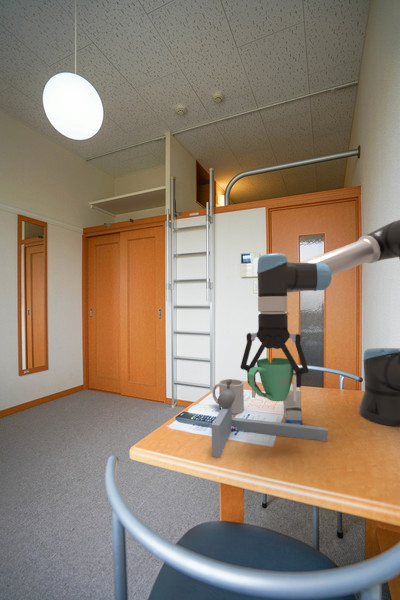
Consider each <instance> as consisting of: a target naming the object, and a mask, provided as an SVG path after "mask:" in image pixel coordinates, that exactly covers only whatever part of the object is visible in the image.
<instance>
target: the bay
mask: <svg viewBox="0 0 400 600" xmlns="http://www.w3.org/2000/svg"><path fill="white" fill-rule="evenodd" d="M227 379H228V380H227V389H225V390H223V391H222V393H221V394H220V396H218V397H217V399H218V403H217V404H218V406H219V408H220V407H222V409H221V410H220V409H219V411H218V414H217V416H216V417H215V419H213V420H214V421H213V422H212V424H211V453H212V454H211V456H212V457H214V458H221V457H222V454H223V451H224V449H225V446H226V444H227V442H228V439H229V437H230V434H231V433H232V430H231V426H236V427H237V430H236V431H238V432H246V433H255V434H264V435H271V436H272V435H273V436H279V437H280V436H281V437H288V438H289V437H290V438H295V439H296V438H297V439H303V440H304V439H305V440H313V441H320V442H328V430H327V429H328V428H327V427H325V426H324V427H323V426H313V425H305V424H302V425H298V424H289V423H285V422H278V421H270V420H269V421H268V420H262V419H261V420H259V419H250V418H249V419H248V418H240V417H233V414H232V403H233V402H234V400H235V393H234V392H233V391H232V390H231V389H230V384H231V383H232V379H233V378H227Z"/></svg>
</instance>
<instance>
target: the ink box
mask: <svg viewBox="0 0 400 600" xmlns="http://www.w3.org/2000/svg"><path fill="white" fill-rule="evenodd" d="M296 391H297V401H293V383H291V387H290V390H289V393H288V396H287V399H286V400H285V401H282V402H283V420H284V423H289V424H298V425H303V416H302V414H303V413H302V392H301V389H300V387H296Z"/></svg>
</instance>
